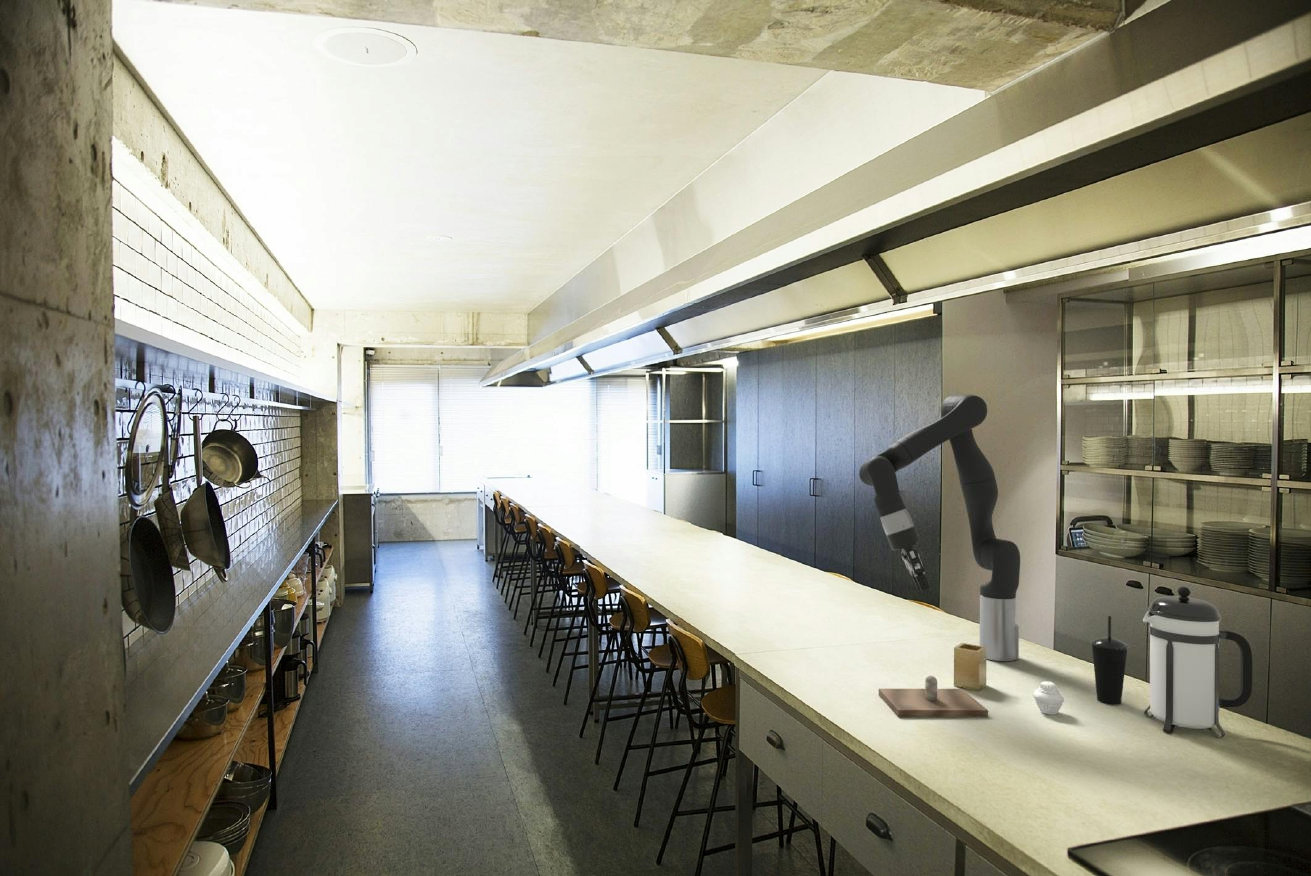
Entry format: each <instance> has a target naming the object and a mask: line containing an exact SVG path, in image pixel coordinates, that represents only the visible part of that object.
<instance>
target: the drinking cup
mask: <svg viewBox="0 0 1311 876" xmlns="http://www.w3.org/2000/svg"><path fill="white" fill-rule="evenodd" d="M1090 645H1091V648H1092V650H1091V651H1092V659H1093V669H1094V670H1093V671H1094V679H1095V680H1094V681H1095V690H1096V700H1097V702H1099V703H1102V704H1105V705H1108V706H1109V705H1111V706H1119V705H1121V704H1122V698H1123V692H1124V691H1123V689H1124V682H1125V681H1124V680H1125V673H1126V672H1125V671H1126V663H1127V662H1126V661H1127V655H1128V649H1129V647H1130V646H1129V644H1128V643H1126V642H1124V641H1122V640H1119V639H1117V638H1113V637H1112V615H1108V616H1107V636H1105V637H1103V636H1102V637H1097V638H1094V639H1091V640H1090Z"/></svg>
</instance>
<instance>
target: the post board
mask: <svg viewBox="0 0 1311 876" xmlns="http://www.w3.org/2000/svg"><path fill="white" fill-rule="evenodd" d="M924 681H925V683H924V688H878V696H879V697H880V699H881V700H883V702H884V703H885V704H886V705H887V707H889V709H891V711H892V712H893V713H894V714H895V715H896V716H897V718H899V717H900V718H903V717H904V718H916V717H917V718H945V717H946V718H989V710H988V709H987V708H986V707H985V705H982V704H981V703H980V702H979V701H978V700H976V698H974V697H973V696H971V695H970V694H969V693H967V691H965V690H964V688H938V679H937V678H936V677H935V676H933V675H928V676H927V677H926V678H925V680H924Z"/></svg>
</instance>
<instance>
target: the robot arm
mask: <svg viewBox="0 0 1311 876" xmlns="http://www.w3.org/2000/svg"><path fill="white" fill-rule="evenodd" d="M987 414H988V406H987V403H986V401H985V400H984V399H983V398H982V397H980V396H979V395H975V394H959V395H958V394H954V395H949V396H947V397H946V398H945V399H944V400H943V402H942V404H941V407H940V416H941V418H939V419H937V420H936V421H933V422H932V423H930V424H926V425H925V426H922V427H920V428H917V429H915V430H913V431H911V432H909V433H907V434H906V435H904V436H903V437H901V438H900V439H898V440H897V441H895V442H894V443H893V444H891V445H890V446H889V447H888V448H886V449H885V450H883V451H881V452H879V453H878V454H876V455H875V456H873V457H872V458H870V459H868V460H867V461H865V462H864V463H862V465H861V466H860V468H859V470H858V476H859V479H860V481H861V482H862V483H863V484H865V485H867V486H870V487H873V488H874V493H875V496H874V499H873V503H874V507H875V508H876V510H877V513H878V516H879V518H880V521H881V525H882V526H881V527H882V529H883V530H884V533H885V536H886V538H887V541H888V543H889V546H890V548H891V550H892V551H893V552H894V551H899V550H902V551H901V555H902V556H901V559H902V561H903V563H904V565H905V567H906V569H907V570H908V573H909V575H911V577H912V579H913V582H914V584H915V587H916V589H918V590H921V591H922V592H924V591H927V590H930V588H931V587H930V585H929V582H928V580H927V577H926V571H925V570H926V569H925V568H924V565H923V562H922V560H921V558H920V557H921V556H920V553H919V552H918V550H917V549H916V548H914V545H916V544H917V545H918V544H919V543H920V542H921V539H920V537H919V534H918V532H917V530H916V527H915V525H914V522H913V520H912V517H911V516H910V514H909V511H908V510H907V508H906V506H905V503H904V500H903V499H902V496H901V494H900V489H899V488H900V487H899V484H898V483H899V482H898V479H897V478H898V477H897V474H896V473H897V472H898V471H900V470H902V469H905V468H906V467H908V466H911V464H913V463H914V462H915V461H917V460H919V459H920V458H922V457H923V456H924V455H926V454H927V453H928V452H930V451H931V450H934V449H935V448H937V447H938V446H940V445H942V444H944V443H945V442H947V441H949V442H950V443H949V444H950V446H951V450H952V453H953V458H954V461H955V466H956V470H957V473H958V479H959V484H960V488H961V492H962V497H963V499H964V504H965V508H966V513H967V518H968V524H969V529H970V538H971V546H972V554H973V557H974V560H975V562H976V565H978V566H979V567H980V568H982V569H984V570H987V571H991V579H990V581H988V582H983V583H981V585H980V586H979V646H984V647H987V651H986V660H990V661H997V662H1012V661H1017V660H1018V661H1019V660H1020V659H1019V657H1020V656H1019V655H1020V651H1019V650H1020V649H1019V647H1020V645H1019V644H1020V643H1019V642H1020V641H1019V640H1020V628H1019V627H1020V626H1019V625H1018V624H1016V623H1017V621H1016V620H1017V619H1016V618H1017V615H1016V612H1017V610H1016V609H1017V608H1016V606H1017V605H1016V604H1017V602H1016V601H1017V598H1016V597H1017V590H1018V588H1019V585H1020V575H1021V554H1020V549H1019V547H1018V546H1017V544H1016V543H1015V542H1013V541H1011V540H1006V539H1000V538H997V536H996V534H995V529H994V525H993V513H994V511H995V507H996V505H997V502H998V498H999V489H998V488H999V487H998V485H997V484H998V483H997V480H996V475H995V472H994V469H993V467H992V464H991V463H990V462H989V459H987V457H986V455H985V454H984V453H983V451H982V450H981V448H980V447H979V445H978V444H977V441H976V439H975V437H974V436H975V435H974V433H973V432H974V431H973V429H974V428H976V427H978V426H980V425H981V424H983V422H984V421H985V420H986V417H987Z"/></svg>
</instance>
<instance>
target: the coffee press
mask: <svg viewBox="0 0 1311 876" xmlns="http://www.w3.org/2000/svg"><path fill="white" fill-rule="evenodd" d="M1177 593H1178V595H1179V596H1178V595H1177V596H1176V595H1164V596H1161V597H1160V596H1159V597H1156V598H1155V599H1153V600H1152V602H1151V603H1150V605H1149V606H1148V607H1147V612H1146V613H1145V614H1144V617H1143V619H1142V622H1143V623H1148V633H1149V705H1148V707H1147V708H1146V709H1145V710H1144V711H1143V713H1144V716H1145V717H1147V718H1151V717H1153V716H1154V717H1155V718H1156V719H1158V720H1160V721H1162V722H1163V723H1164V724H1163V726H1162V731H1163V732H1164V733H1166V734H1170V735H1172V734H1173V733H1174V731H1175V729H1176V728H1177V727H1182V728H1187V729H1196V730H1199V729H1200V730H1202V729H1203V730H1204V729H1205V730H1206V729H1207V730H1209V731H1210V732H1211V733H1212V734H1213V736H1215V738H1217V739H1221V738H1223V737H1225V736H1226V731H1224V729H1223V728H1222V726H1221V724H1220V721H1219V720H1220V719H1219V717H1220V716H1219V712H1220V708H1238V707H1241V706H1243V705H1245V704H1246V703H1247V702H1248V701H1249V699H1250V697H1251V695H1252V689H1253V653H1252V648H1251V646H1250V644H1249V642H1248V640H1247V639H1246V638H1245V637H1244V636H1243V635H1240V634H1238V633H1236V632H1234V631H1230V630H1220V621H1221V620H1222V614H1221V613H1219V610H1218V609H1217V607H1216V606H1215V605H1214V604H1212V603H1210V602H1208V601H1206V600H1202V599H1199V598H1195V597H1189V596H1190V595H1191V590H1190V589H1189V588H1188V587H1187V586H1181V587H1179V588H1178V589H1177ZM1221 639H1223V640H1227V641H1229V640H1230V641H1233V642H1234V643H1236V644H1237V646H1238V648H1239V651H1240V655H1239V656H1240V671H1239V672H1240V675H1239V676H1240V677H1239V678H1240V684H1239V691H1238V693H1237V694H1236V695H1235V696H1234V697H1231V698H1230V697H1229V698H1224V697H1223V698H1221V697H1219V695H1220V693H1219V689H1220V687H1219V686H1220V685H1219V684H1220V681H1219V680H1220V678H1219V677H1220V672H1219V671H1220V670H1219V669H1220V667H1219V665H1220V663H1219V662H1220V649H1219V648H1220V647H1219V645H1220V642H1221ZM1149 710H1150V713H1151V714H1152V715H1151V714H1149V712H1148V711H1149ZM1215 726H1216V728H1217V730H1218V731H1219V732H1220V734H1221V735H1220V734H1219V733H1218V732H1217V731H1216V730H1215V729H1214V728H1213V727H1215Z"/></svg>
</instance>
